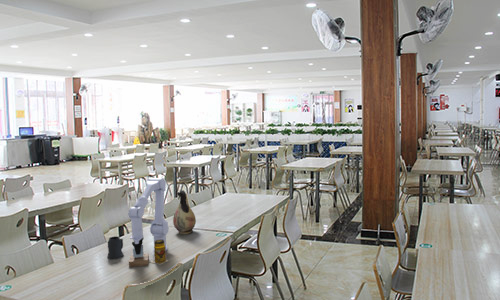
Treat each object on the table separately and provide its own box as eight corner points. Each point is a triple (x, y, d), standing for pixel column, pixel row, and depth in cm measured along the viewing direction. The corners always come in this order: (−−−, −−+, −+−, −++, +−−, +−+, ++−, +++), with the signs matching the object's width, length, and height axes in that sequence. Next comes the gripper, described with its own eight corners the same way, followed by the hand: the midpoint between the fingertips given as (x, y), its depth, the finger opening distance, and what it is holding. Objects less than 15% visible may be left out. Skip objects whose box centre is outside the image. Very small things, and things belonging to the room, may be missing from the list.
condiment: (160, 264, 224) (159, 243, 223) (149, 262, 228) (147, 241, 227) (169, 260, 230) (168, 239, 229) (158, 258, 234) (157, 237, 233)
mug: (118, 259, 234) (116, 240, 233) (103, 259, 236) (102, 239, 235) (129, 252, 245) (127, 234, 244) (115, 251, 247) (114, 233, 246)
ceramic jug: (171, 231, 287) (169, 189, 284) (192, 227, 293) (190, 186, 290) (177, 237, 271) (175, 193, 269) (199, 234, 278) (197, 190, 275)
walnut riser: (130, 260, 231) (130, 255, 231) (149, 258, 233) (148, 253, 233) (129, 267, 222) (128, 261, 221) (148, 265, 223) (147, 259, 223)
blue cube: (134, 254, 229) (133, 245, 229) (143, 253, 230) (142, 244, 229) (133, 257, 224) (132, 248, 224) (142, 256, 225) (142, 247, 225)
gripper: (130, 225, 232) (132, 249, 233) (128, 233, 218) (129, 257, 219) (143, 224, 233) (145, 247, 235) (141, 231, 219) (143, 256, 220)
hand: (138, 252), depth 227 cm, fingers closed on blue cube, 5 cm apart
